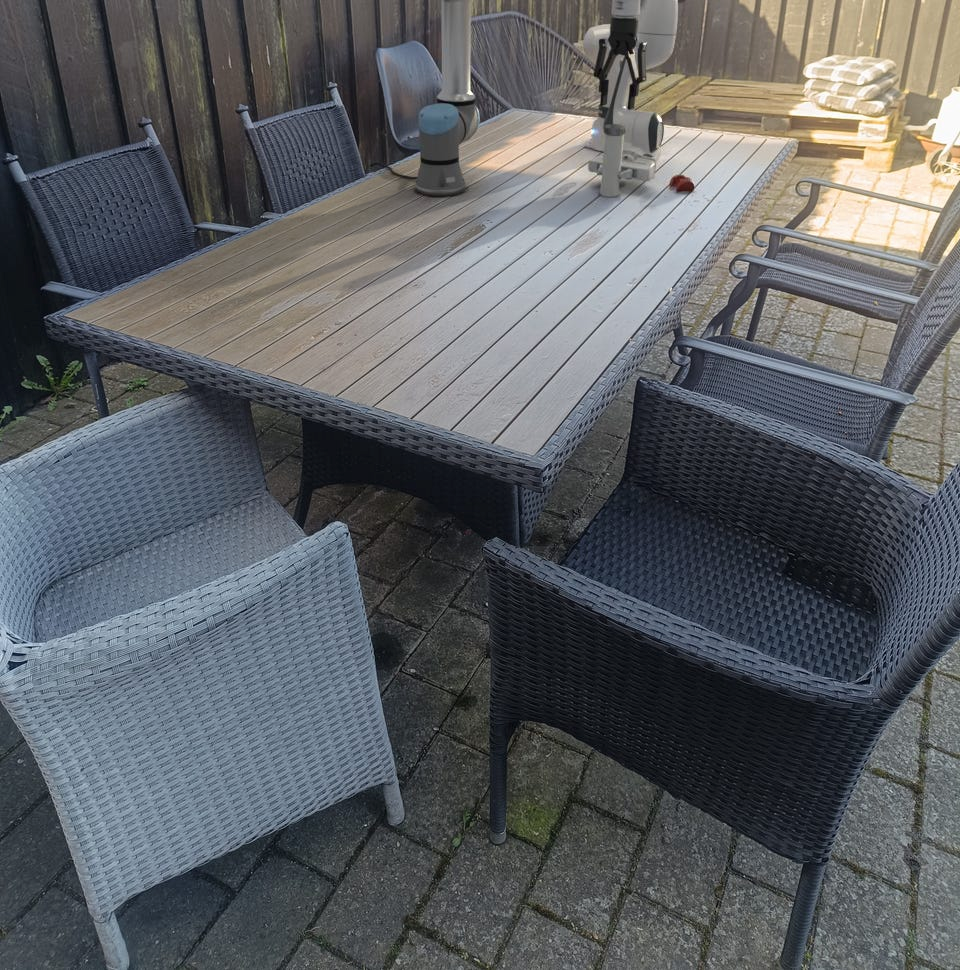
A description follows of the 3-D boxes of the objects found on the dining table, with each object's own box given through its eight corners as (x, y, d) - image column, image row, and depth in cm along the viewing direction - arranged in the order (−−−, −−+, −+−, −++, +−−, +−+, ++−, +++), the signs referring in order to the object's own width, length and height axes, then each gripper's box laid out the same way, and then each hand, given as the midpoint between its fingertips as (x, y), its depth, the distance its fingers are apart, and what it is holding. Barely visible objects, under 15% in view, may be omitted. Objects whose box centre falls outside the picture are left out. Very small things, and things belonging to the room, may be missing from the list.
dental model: (685, 170, 259) (697, 178, 253) (684, 184, 262) (695, 192, 256) (668, 172, 258) (679, 180, 252) (667, 186, 261) (678, 194, 255)
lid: (628, 132, 245) (629, 125, 244) (619, 136, 241) (620, 129, 240) (609, 129, 248) (610, 123, 247) (600, 133, 244) (600, 127, 243)
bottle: (621, 193, 256) (627, 127, 244) (613, 198, 252) (619, 131, 241) (605, 190, 258) (610, 124, 247) (597, 195, 254) (602, 128, 243)
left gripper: (584, 15, 230) (578, 104, 243) (654, 21, 220) (644, 114, 233) (597, 12, 235) (591, 100, 248) (666, 17, 225) (656, 109, 238)
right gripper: (600, 148, 263) (579, 158, 253) (661, 157, 254) (642, 168, 244) (598, 169, 267) (578, 179, 257) (658, 179, 257) (639, 190, 248)
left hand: (617, 106), depth 240 cm, fingers open, 8 cm apart
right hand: (609, 174), depth 251 cm, fingers closed on bottle, 5 cm apart
